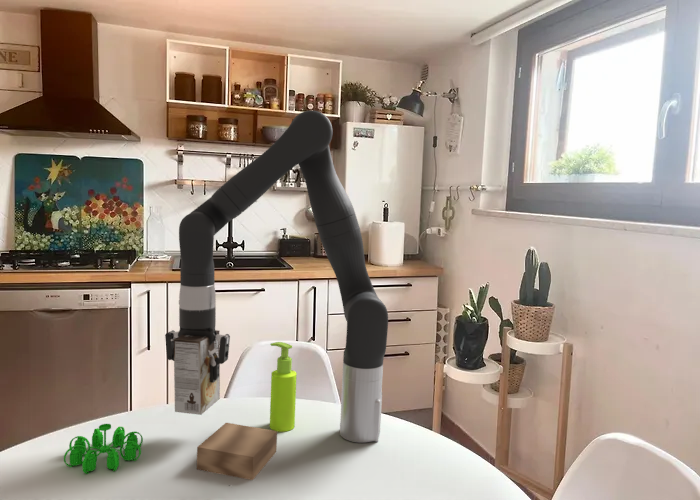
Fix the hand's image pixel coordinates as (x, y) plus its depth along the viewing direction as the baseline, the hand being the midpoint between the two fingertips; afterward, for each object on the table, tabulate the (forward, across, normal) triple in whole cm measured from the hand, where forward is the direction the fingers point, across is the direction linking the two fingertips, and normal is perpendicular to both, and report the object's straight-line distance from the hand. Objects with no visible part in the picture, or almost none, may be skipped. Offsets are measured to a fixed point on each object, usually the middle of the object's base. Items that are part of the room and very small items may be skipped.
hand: (197, 379), depth 116 cm
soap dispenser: (+14, -16, -12) cm, 24 cm away
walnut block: (+14, -12, +6) cm, 19 cm away
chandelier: (+14, +15, +11) cm, 23 cm away
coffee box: (+6, 0, 0) cm, 6 cm away
